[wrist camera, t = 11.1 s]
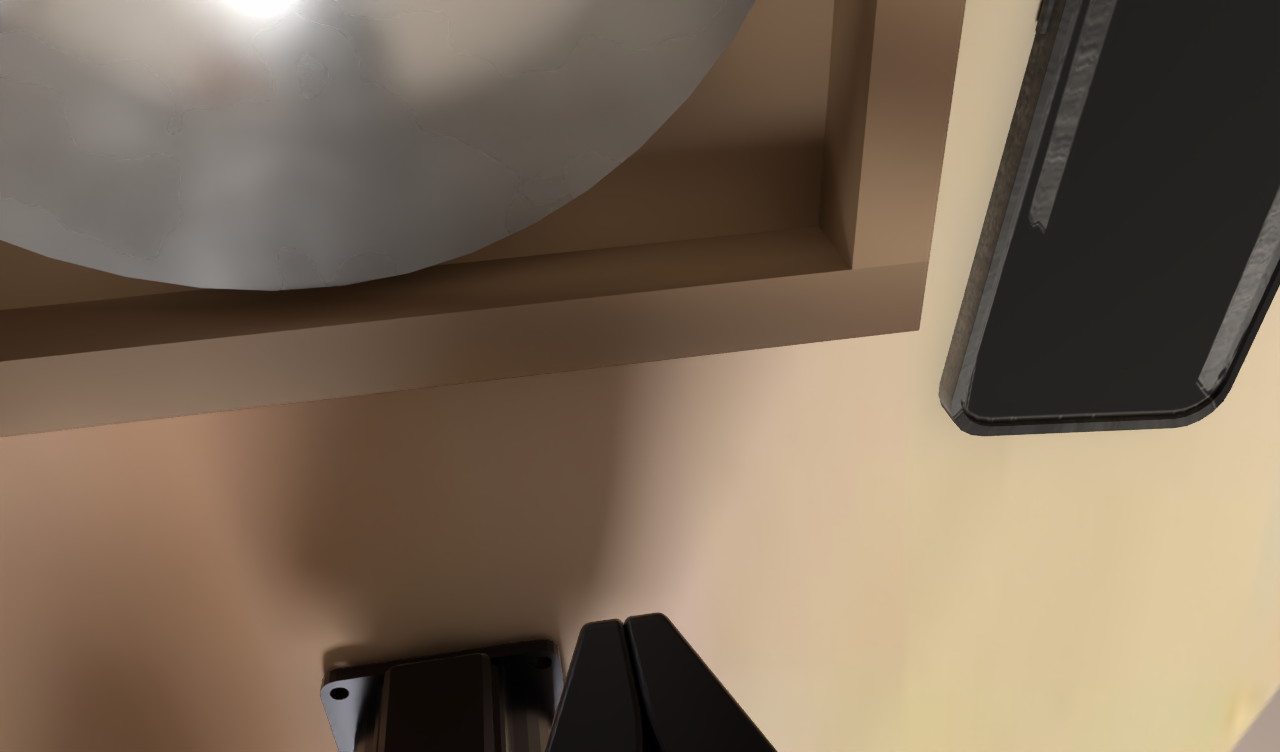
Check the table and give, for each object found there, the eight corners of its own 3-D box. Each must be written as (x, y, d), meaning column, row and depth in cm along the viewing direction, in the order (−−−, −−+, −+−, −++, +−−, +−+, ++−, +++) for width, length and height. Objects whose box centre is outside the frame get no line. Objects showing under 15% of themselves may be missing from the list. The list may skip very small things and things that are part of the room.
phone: (1528, -245, 17) (1214, 427, 25) (1474, -245, 18) (1187, 403, 26) (1140, -282, 16) (937, 438, 24) (1103, -278, 17) (920, 413, 25)
